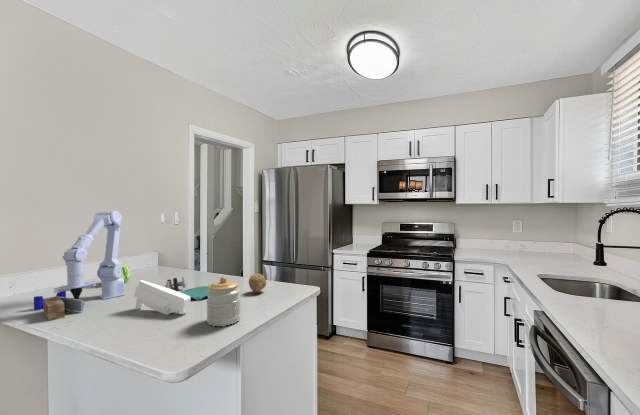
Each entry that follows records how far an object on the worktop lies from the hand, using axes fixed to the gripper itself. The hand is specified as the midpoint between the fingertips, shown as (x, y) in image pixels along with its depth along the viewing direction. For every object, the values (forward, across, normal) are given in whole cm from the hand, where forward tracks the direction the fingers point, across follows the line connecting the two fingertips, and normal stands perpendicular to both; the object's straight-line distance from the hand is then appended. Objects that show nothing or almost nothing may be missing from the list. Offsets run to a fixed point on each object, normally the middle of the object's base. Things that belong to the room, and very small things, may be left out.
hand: (76, 305), depth 135 cm
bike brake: (+3, +39, 0) cm, 39 cm away
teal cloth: (+3, +51, -22) cm, 56 cm away
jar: (+2, +35, -65) cm, 74 cm away
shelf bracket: (+3, +24, -34) cm, 41 cm away
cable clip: (+2, -7, +18) cm, 19 cm away
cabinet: (+2, -8, 0) cm, 8 cm away
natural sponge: (+2, +67, -44) cm, 80 cm away
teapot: (+2, +25, +40) cm, 48 cm away
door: (+2, -2, 0) cm, 2 cm away
